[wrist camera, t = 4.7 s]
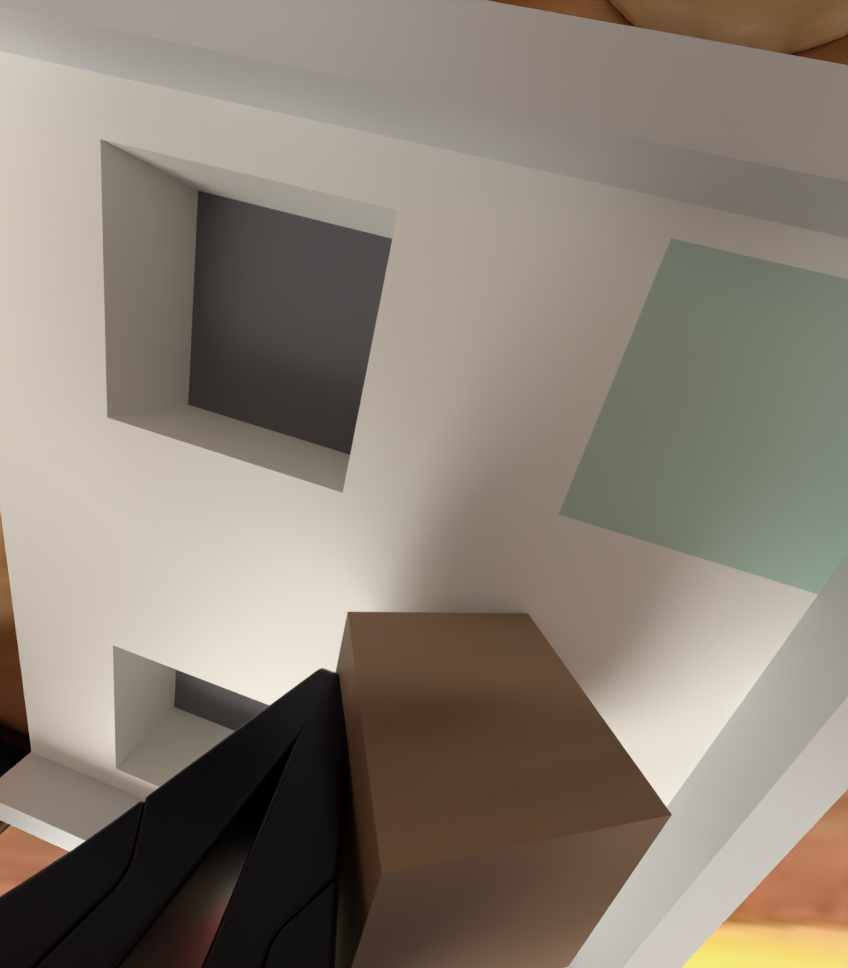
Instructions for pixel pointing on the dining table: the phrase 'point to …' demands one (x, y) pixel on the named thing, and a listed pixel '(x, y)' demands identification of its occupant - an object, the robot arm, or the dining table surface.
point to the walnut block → (477, 797)
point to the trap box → (428, 393)
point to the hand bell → (744, 21)
